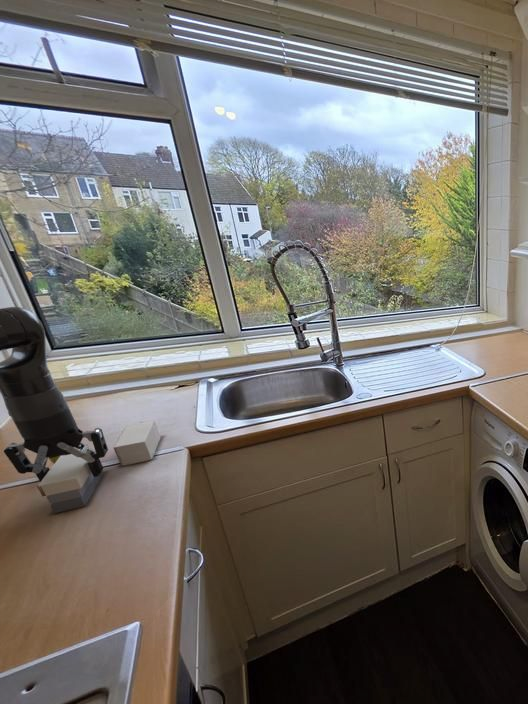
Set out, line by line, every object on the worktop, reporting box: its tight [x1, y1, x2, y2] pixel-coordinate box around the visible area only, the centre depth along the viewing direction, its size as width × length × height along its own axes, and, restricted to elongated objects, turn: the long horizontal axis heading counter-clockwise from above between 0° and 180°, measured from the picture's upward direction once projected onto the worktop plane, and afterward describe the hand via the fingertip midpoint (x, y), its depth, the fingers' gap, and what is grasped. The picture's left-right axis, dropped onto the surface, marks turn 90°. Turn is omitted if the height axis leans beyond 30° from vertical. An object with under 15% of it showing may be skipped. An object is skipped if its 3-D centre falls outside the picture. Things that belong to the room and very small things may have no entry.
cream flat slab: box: [36, 448, 96, 498], centre depth 85 cm, size 6×12×3 cm, turn 30°
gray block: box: [46, 470, 104, 514], centre depth 87 cm, size 5×13×4 cm, turn 30°
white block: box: [113, 419, 162, 467], centre depth 101 cm, size 6×12×5 cm, turn 30°
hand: (75, 479), depth 86 cm, fingers open, 6 cm apart
